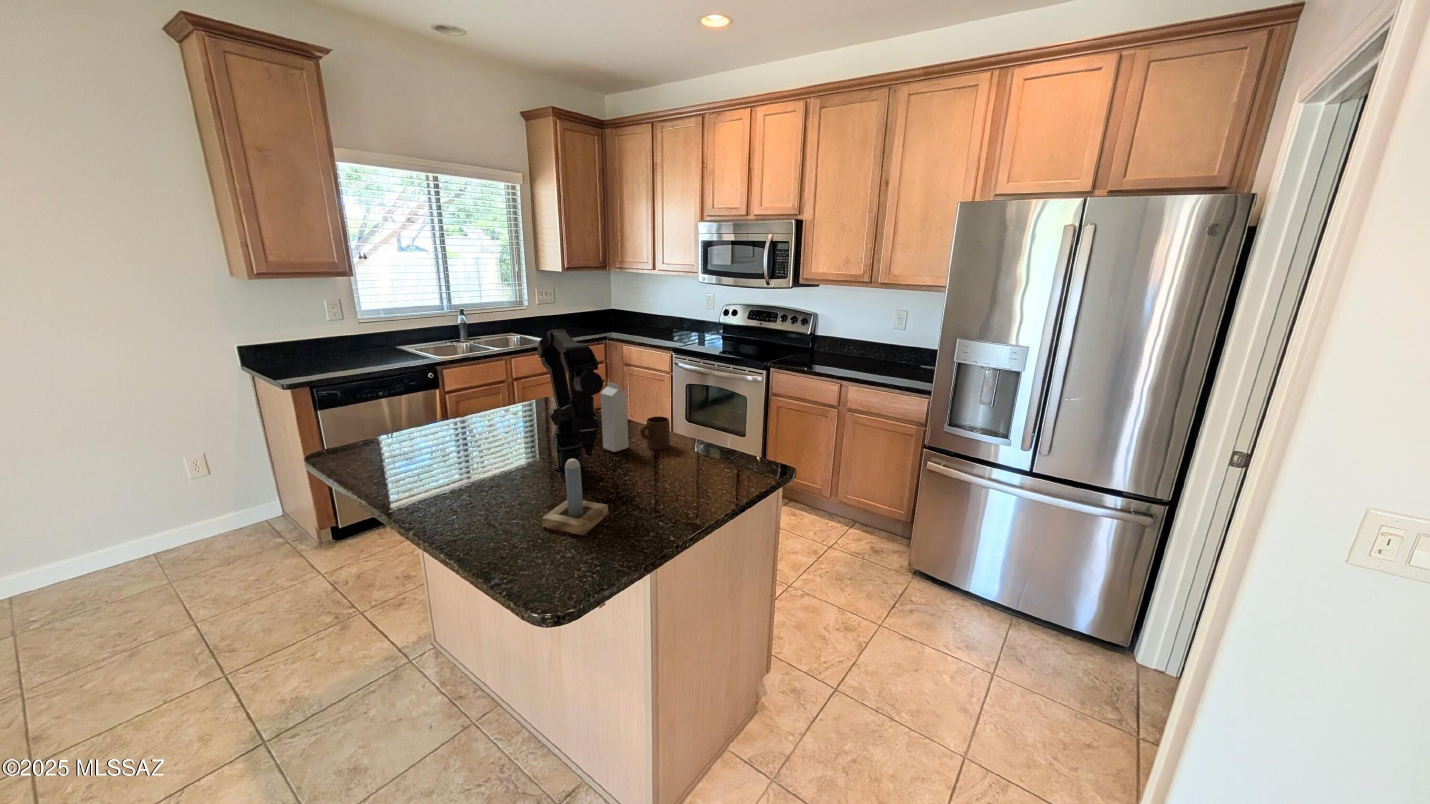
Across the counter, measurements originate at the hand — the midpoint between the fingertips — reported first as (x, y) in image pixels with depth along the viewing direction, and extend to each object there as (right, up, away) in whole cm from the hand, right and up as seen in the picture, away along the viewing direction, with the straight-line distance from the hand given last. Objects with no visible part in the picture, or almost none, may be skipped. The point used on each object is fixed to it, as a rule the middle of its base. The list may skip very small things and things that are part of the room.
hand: (588, 452), depth 139 cm
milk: (0, -2, +36) cm, 36 cm away
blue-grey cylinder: (0, -15, -12) cm, 19 cm away
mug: (+13, -2, +36) cm, 38 cm away
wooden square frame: (0, -15, -12) cm, 19 cm away
